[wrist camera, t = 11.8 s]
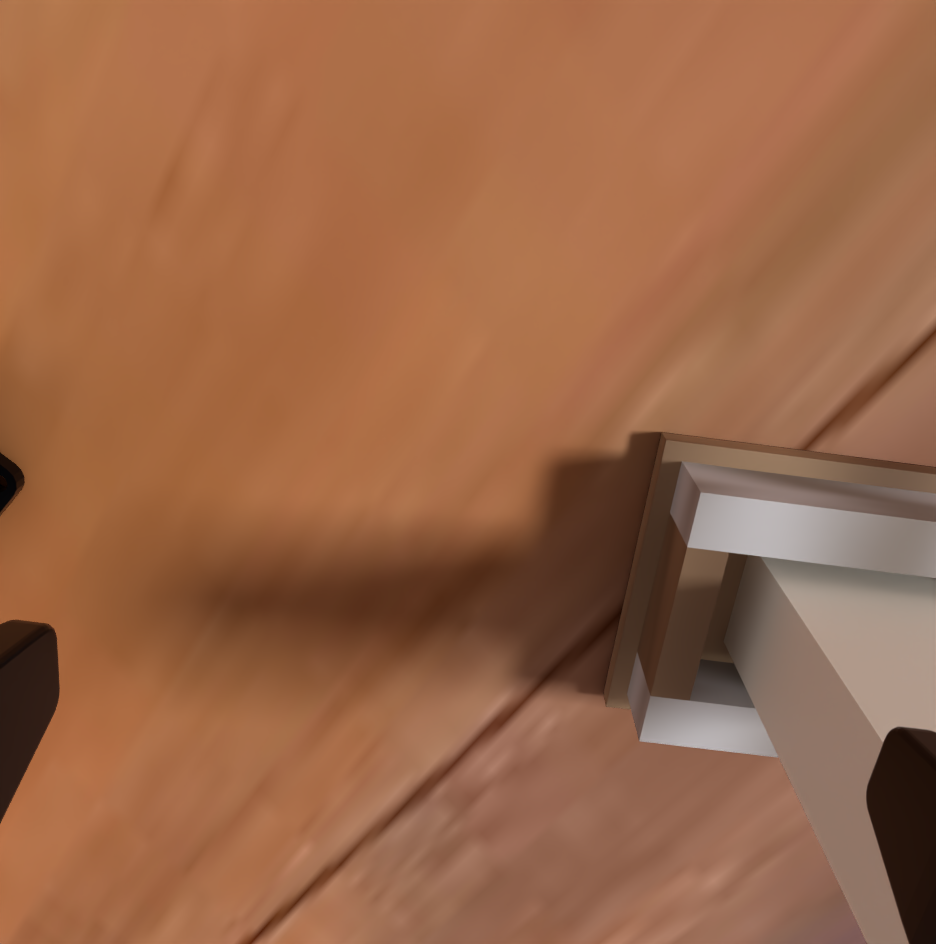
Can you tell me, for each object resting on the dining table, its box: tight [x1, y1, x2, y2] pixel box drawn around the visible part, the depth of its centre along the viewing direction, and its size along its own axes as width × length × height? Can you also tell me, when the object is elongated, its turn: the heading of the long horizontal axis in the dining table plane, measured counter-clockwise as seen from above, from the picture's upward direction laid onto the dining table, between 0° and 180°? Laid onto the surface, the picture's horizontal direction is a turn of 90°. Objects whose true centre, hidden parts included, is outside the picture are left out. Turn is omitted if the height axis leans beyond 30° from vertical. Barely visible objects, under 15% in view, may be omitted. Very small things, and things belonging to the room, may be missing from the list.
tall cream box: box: [724, 555, 936, 944], centre depth 17 cm, size 4×3×12 cm, turn 82°
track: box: [603, 432, 936, 757], centre depth 22 cm, size 10×8×3 cm
